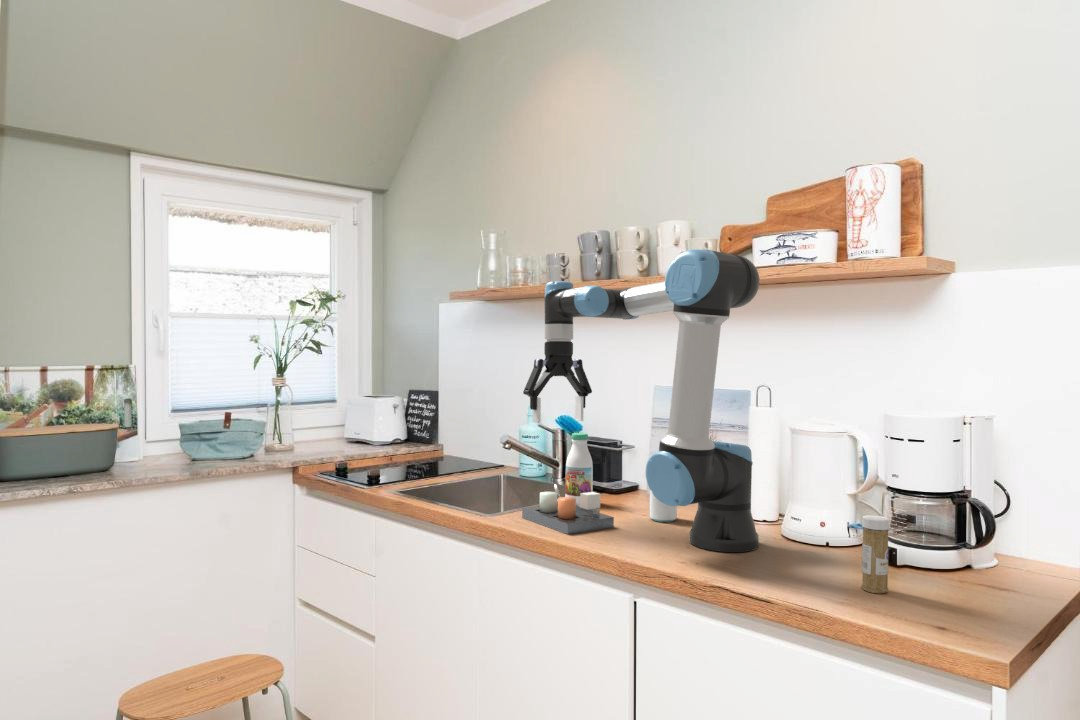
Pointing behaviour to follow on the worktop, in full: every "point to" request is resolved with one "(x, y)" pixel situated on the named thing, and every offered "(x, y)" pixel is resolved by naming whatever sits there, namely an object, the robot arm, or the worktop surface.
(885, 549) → the spice jar
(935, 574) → the worktop surface
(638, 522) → the worktop surface
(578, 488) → the milk bottle
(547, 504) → the button
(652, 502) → the can
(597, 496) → the slider
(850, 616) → the worktop surface
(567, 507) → the button
